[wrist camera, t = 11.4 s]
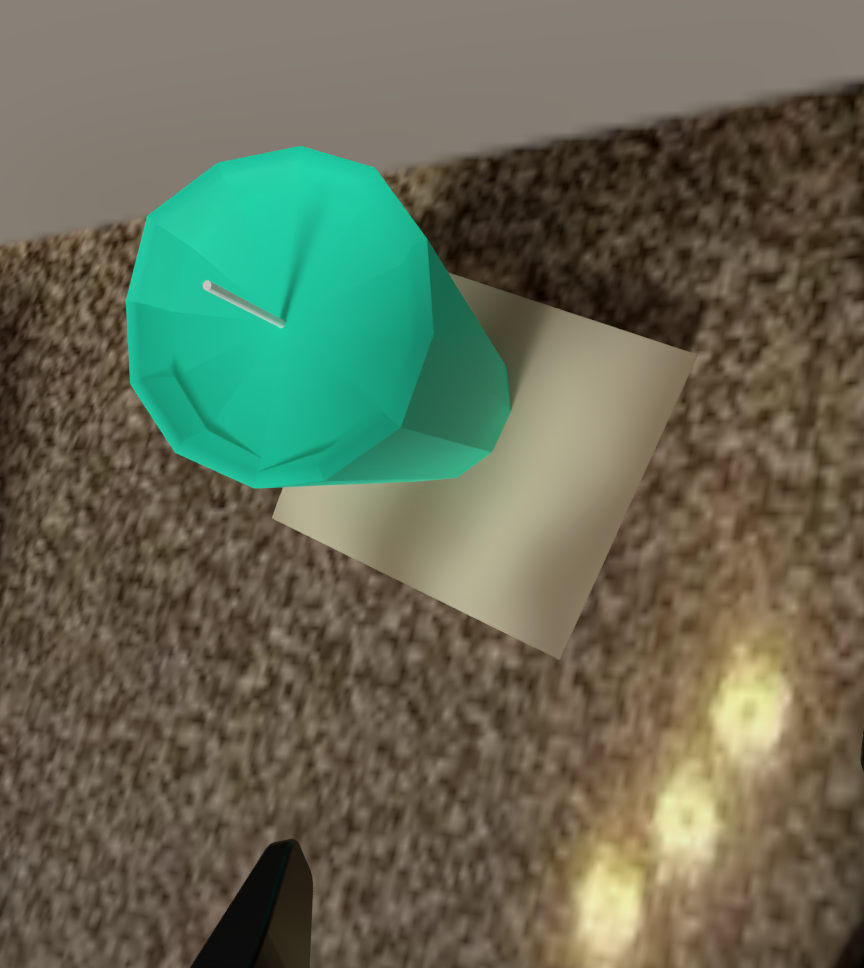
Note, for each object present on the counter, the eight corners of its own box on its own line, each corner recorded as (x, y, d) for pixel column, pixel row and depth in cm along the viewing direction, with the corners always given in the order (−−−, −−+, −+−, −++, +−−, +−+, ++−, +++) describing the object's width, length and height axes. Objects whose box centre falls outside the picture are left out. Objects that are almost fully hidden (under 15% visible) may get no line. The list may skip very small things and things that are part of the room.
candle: (322, 414, 20) (-14, 332, 9) (418, 283, 19) (182, -9, 8) (438, 516, 19) (232, 581, 8) (548, 384, 18) (503, 222, 6)
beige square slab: (685, 367, 19) (697, 354, 17) (561, 641, 20) (559, 659, 18) (390, 267, 22) (371, 247, 20) (297, 514, 23) (272, 518, 21)
